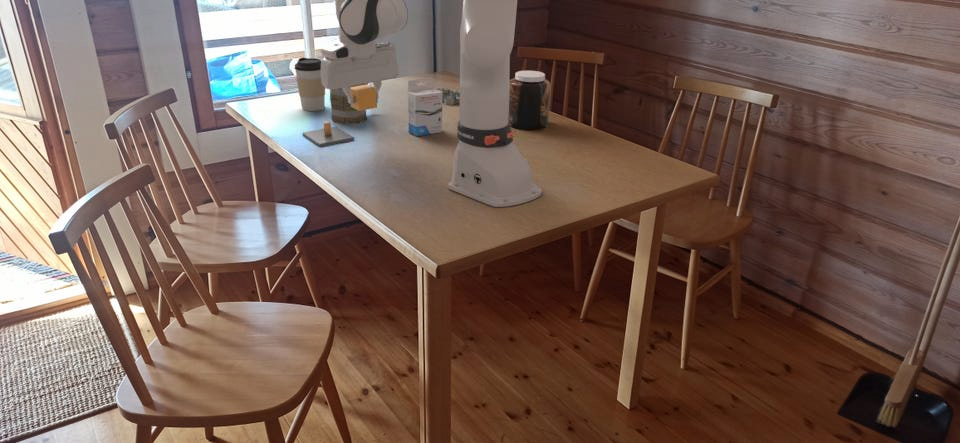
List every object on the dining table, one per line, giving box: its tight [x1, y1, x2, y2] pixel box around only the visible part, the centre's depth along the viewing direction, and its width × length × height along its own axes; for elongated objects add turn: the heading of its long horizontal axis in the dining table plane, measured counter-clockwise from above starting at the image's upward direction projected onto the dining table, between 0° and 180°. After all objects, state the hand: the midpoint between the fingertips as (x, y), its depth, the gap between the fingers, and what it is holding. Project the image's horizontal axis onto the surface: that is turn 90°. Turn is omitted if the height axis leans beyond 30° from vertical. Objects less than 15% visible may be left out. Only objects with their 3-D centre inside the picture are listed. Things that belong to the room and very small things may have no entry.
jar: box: [508, 70, 551, 131], centre depth 195 cm, size 12×12×15 cm
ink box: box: [407, 77, 443, 137], centre depth 187 cm, size 8×5×15 cm, turn 123°
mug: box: [329, 83, 379, 125], centre depth 198 cm, size 16×11×12 cm
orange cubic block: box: [349, 84, 378, 111], centre depth 172 cm, size 5×5×5 cm
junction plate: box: [302, 121, 355, 148], centre depth 183 cm, size 11×10×4 cm
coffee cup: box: [294, 57, 326, 112], centre depth 205 cm, size 9×9×15 cm
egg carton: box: [435, 87, 460, 106], centre depth 219 cm, size 11×8×4 cm
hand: (363, 100), depth 173 cm, fingers closed on orange cubic block, 5 cm apart
